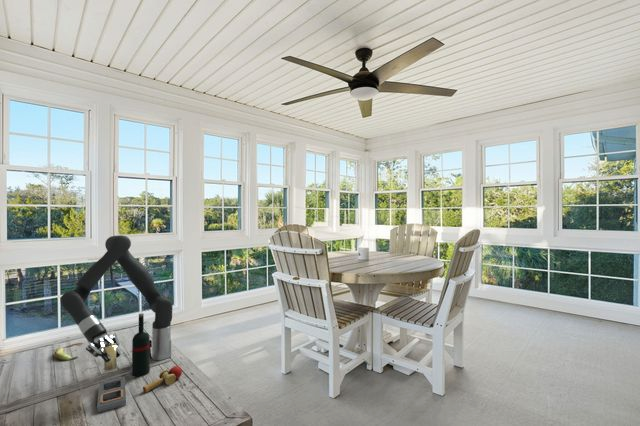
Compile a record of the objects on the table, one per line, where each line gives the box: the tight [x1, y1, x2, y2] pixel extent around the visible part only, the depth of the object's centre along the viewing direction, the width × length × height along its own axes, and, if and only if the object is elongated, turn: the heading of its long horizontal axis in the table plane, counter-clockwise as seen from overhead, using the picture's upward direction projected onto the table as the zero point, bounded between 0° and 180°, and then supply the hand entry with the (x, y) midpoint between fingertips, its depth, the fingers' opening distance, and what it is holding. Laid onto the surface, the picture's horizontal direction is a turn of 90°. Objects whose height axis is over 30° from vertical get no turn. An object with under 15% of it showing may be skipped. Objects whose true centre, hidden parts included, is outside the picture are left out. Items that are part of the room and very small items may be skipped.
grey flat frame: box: [96, 376, 127, 414], centre depth 141 cm, size 10×22×3 cm, turn 33°
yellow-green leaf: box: [44, 342, 85, 371], centre depth 179 cm, size 35×27×4 cm
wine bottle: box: [131, 313, 153, 378], centre depth 162 cm, size 8×10×30 cm
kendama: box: [142, 365, 183, 394], centre depth 151 cm, size 8×6×18 cm
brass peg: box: [103, 343, 118, 372], centre depth 141 cm, size 4×4×10 cm
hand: (114, 358), depth 140 cm, fingers closed on brass peg, 4 cm apart
